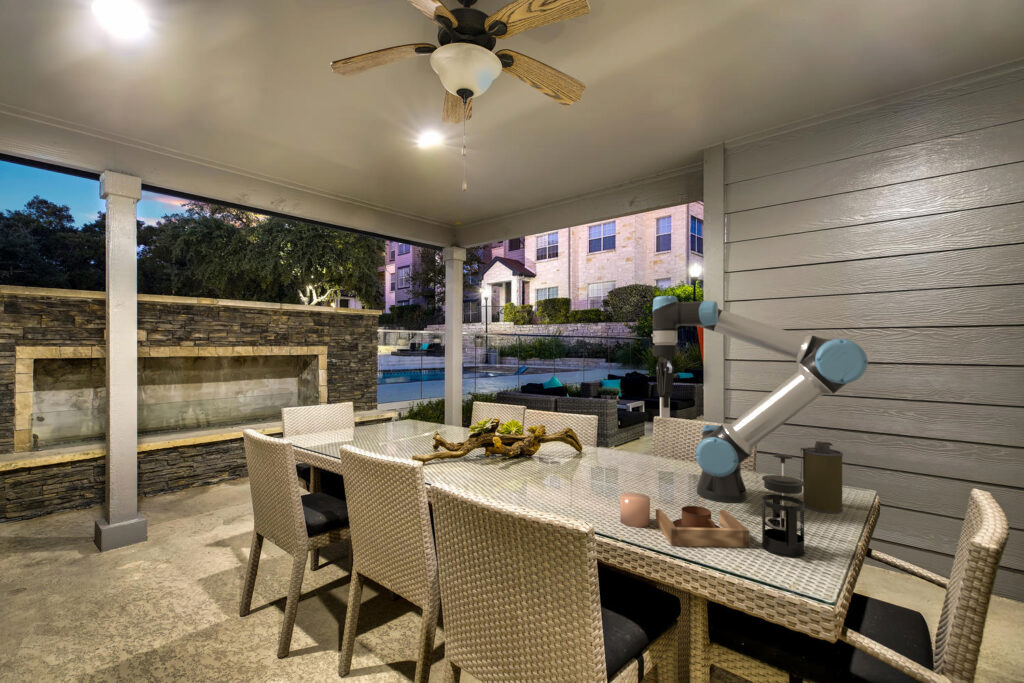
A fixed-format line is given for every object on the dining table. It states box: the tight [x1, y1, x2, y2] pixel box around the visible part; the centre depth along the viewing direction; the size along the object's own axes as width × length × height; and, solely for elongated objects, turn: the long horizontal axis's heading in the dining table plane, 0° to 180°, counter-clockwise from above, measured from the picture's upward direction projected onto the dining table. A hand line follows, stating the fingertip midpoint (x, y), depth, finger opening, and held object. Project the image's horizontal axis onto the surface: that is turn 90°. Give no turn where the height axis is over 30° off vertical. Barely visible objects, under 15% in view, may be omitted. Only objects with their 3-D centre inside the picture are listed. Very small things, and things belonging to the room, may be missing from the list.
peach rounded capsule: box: [620, 492, 651, 529], centre depth 133 cm, size 8×8×7 cm
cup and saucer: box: [672, 505, 721, 528], centre depth 126 cm, size 12×12×6 cm
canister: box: [800, 440, 844, 514], centre depth 146 cm, size 11×10×20 cm
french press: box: [760, 453, 806, 559], centre depth 115 cm, size 12×9×23 cm
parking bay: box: [655, 508, 750, 548], centre depth 125 cm, size 19×14×4 cm
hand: (664, 417), depth 153 cm, fingers closed
